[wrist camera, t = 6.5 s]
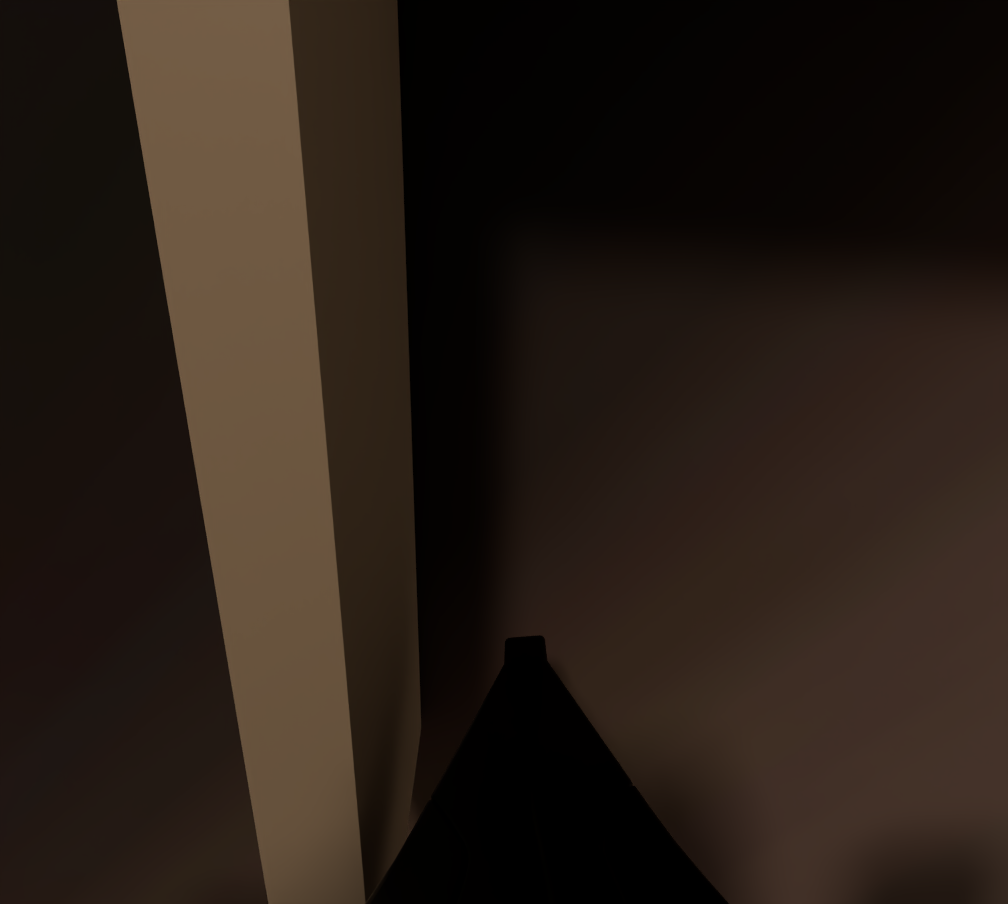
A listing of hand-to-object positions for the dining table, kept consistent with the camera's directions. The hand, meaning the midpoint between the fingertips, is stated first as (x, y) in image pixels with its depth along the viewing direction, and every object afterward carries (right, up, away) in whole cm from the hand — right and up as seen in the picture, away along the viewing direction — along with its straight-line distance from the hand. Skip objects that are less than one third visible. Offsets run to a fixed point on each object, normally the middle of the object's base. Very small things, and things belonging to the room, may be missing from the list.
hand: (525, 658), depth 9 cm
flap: (-2, +5, 0) cm, 5 cm away
